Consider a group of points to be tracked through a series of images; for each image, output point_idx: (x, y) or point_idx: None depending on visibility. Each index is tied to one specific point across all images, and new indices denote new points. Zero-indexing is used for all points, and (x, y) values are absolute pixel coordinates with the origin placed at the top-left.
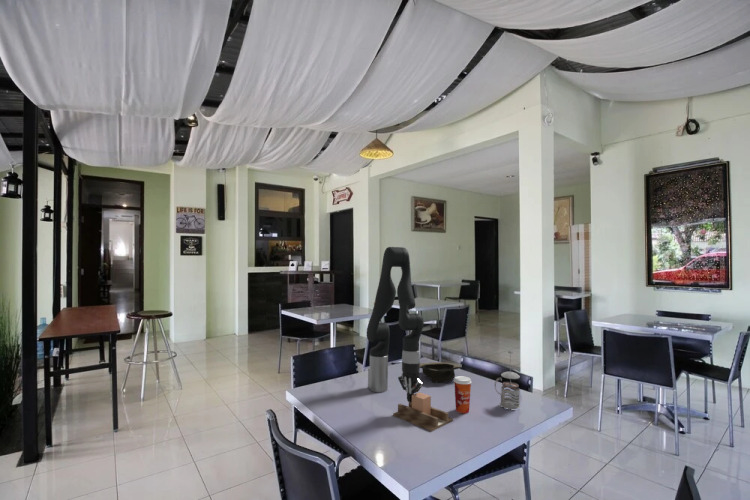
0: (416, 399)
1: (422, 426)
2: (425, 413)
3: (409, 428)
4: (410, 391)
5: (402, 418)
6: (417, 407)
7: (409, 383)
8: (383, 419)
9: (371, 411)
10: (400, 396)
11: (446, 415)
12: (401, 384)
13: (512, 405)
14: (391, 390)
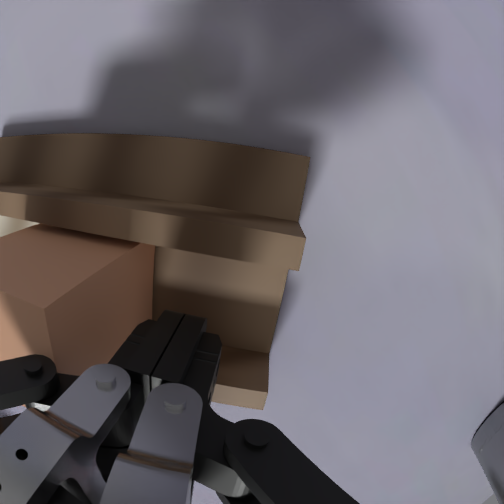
0: (11, 271)
1: (33, 135)
2: (4, 212)
3: (89, 66)
4: (90, 387)
5: (195, 140)
6: (54, 242)
7: (10, 493)
8: (327, 51)
9: (475, 140)
10: (400, 443)
11: None
12: (336, 501)
13: None
14: (453, 451)
